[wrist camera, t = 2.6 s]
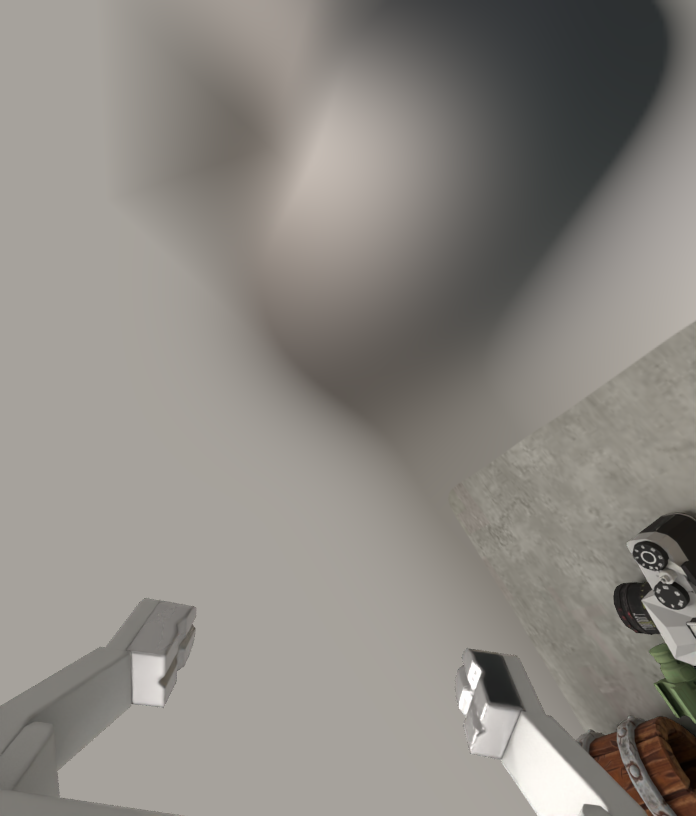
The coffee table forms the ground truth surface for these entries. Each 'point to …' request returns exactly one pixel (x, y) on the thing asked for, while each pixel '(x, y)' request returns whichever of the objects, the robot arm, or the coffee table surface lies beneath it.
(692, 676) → the knife
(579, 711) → the coffee table surface
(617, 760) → the mug
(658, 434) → the coffee table surface
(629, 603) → the camera
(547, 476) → the coffee table surface
